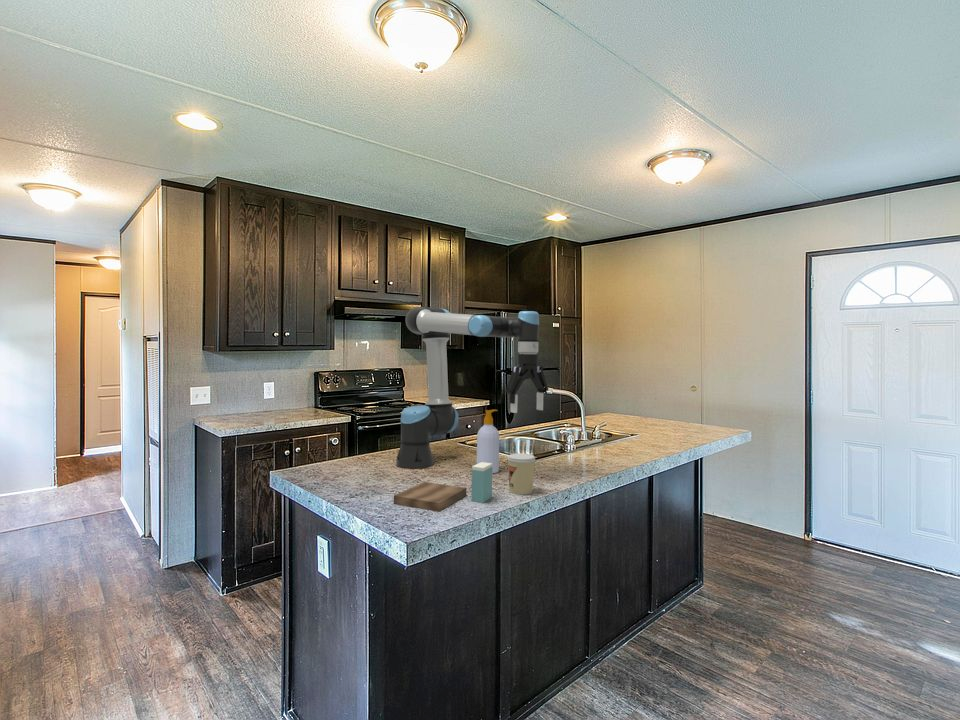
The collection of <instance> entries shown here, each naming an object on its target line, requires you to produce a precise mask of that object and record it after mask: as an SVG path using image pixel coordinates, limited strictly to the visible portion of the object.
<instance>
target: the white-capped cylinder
mask: <svg viewBox="0 0 960 720" xmlns="http://www.w3.org/2000/svg"><path fill="white" fill-rule="evenodd" d="M535 461H536V457H535V456H534V454H531V453H530V454H529V453H523V452H522V453H518V452H517V453H510V454H509V455H508V456H507V468H508V469H507V470H508V488H509V492H510V493H511V494H514V495H517V496H518V495H519V496H523V495H530V494H532V493H533V487H534V477H535V475H534V474H535V466H536V465H535Z"/></svg>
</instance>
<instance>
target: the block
mask: <svg viewBox="0 0 960 720" xmlns="http://www.w3.org/2000/svg"><path fill="white" fill-rule="evenodd" d="M492 464H493V463H485V462H480V463H478V464H477V463H476V464H474V465H472V466H471V495H470V497H471V499H470V500H471V502H474V503H480V504H484V503H485V502H487V501H488V500H490V499H491V498H493V474H492Z"/></svg>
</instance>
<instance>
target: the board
mask: <svg viewBox="0 0 960 720" xmlns="http://www.w3.org/2000/svg"><path fill="white" fill-rule="evenodd" d="M466 496H467V487H461V486H457V485H455V486H454V485H449V484H443V483H442V484H441V483H435V482H430V481H429V482H427V481H423V482H421V483H419V484H416V485H414V486H412V487H409V488H407V489H405V490H403V491H401V492H398V493H397V494H394V495H393V505H399V506H405V507H410V508H411V507H412V508H416V509H417V508H418V509H423V510H428V511H434V512H441V511H442V510H444V509H446V508H448V507H450V506H451V505H453V504H454V503H457V502H458V501H460V500H462V499H463V498H465V497H466Z"/></svg>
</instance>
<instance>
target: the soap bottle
mask: <svg viewBox="0 0 960 720" xmlns="http://www.w3.org/2000/svg"><path fill="white" fill-rule="evenodd" d="M494 412H498V409H489V410H488V409H486V410H485V416H484V417H483V426H481V427H480V428H479V430H478V431H477V435H476V464H478V463H480V462H485V463H493V464H492V475H494V474H497V473H498V472H499V471H500V467H499V466H500V433H499V431H498V429H497V428H496V427H495V426H494V418H493V415H492V413H494ZM493 473H494V474H493Z"/></svg>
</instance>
